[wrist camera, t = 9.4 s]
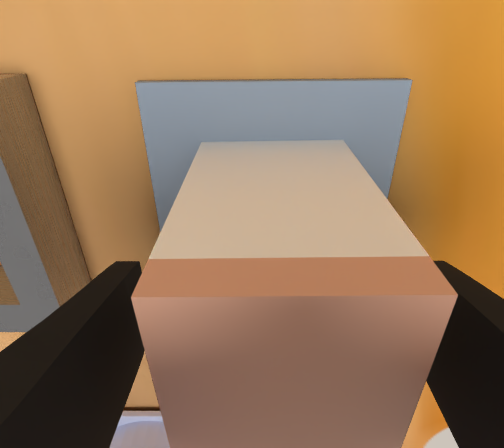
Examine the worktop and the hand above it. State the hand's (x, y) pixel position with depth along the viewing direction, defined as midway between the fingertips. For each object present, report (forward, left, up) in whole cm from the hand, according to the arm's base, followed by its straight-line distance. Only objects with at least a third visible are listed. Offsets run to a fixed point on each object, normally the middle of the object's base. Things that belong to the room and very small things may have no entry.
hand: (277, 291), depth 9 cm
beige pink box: (0, 0, -5) cm, 5 cm away
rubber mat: (0, 0, -5) cm, 5 cm away
